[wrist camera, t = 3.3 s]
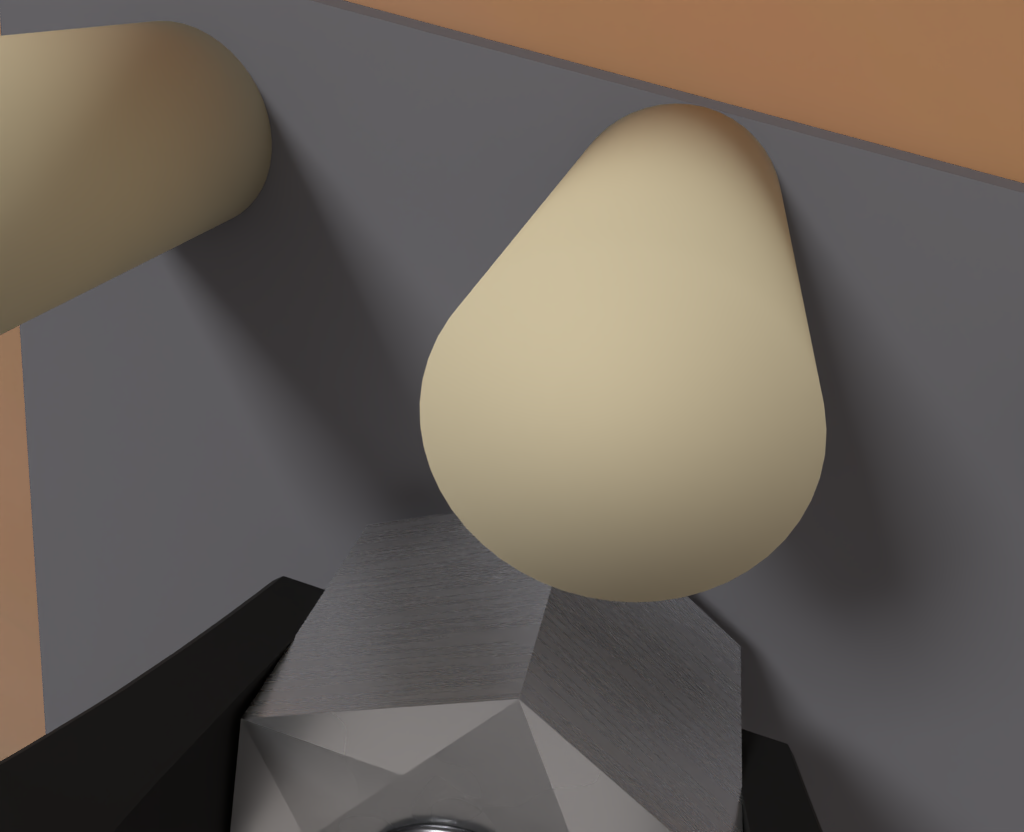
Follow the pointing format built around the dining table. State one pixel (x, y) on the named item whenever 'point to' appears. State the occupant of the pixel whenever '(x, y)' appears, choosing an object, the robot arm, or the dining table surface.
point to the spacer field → (519, 365)
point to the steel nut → (489, 704)
